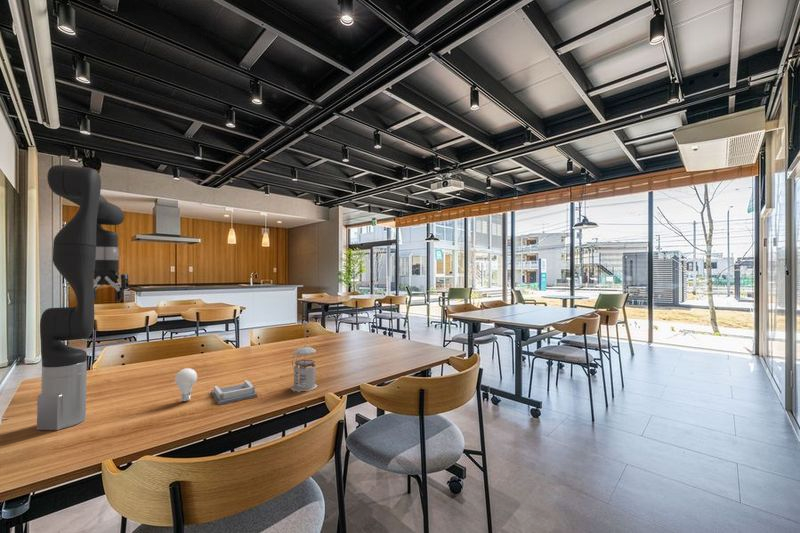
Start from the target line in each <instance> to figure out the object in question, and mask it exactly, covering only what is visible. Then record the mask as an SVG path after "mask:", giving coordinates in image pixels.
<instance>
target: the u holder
mask: <svg viewBox="0 0 800 533" xmlns="http://www.w3.org/2000/svg"><path fill="white" fill-rule="evenodd" d="M255 390H256V388H255V386H254V385H253V384H252V383H251V382H250V381H249V380H248V379H246V380H244V381H243V383H241V384H237V385H236V384H235V385H232V386H226V387H221V388H220V387H219V386H218V385H214V386H213V389H211V390H210V393H211V395H212V396H213V398H214V399H215V401H216V402H217V404H218V406H221V405H226V404H231V403H234V402H235V403H236V402H239V401H244V400H248V399H253V398H258V393H257V392H256V391H255Z"/></svg>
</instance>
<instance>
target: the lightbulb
mask: <svg viewBox="0 0 800 533" xmlns="http://www.w3.org/2000/svg"><path fill="white" fill-rule="evenodd" d="M197 380H198V373H197V371H196V370H194V369H193V368H190V367H185V368H183V369H180V370H179V371H178V372H177V373H176V375H175V377H174V383H175V384H176V385H177V387H178V388H179V392H180V395H181V398H180V399H181V401H182V402H185V403H186V402H189V401H190V400H191V397H192V395H191V392H192V390H193V386H194V385H195V384H196V382H197Z"/></svg>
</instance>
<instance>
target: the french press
mask: <svg viewBox="0 0 800 533" xmlns="http://www.w3.org/2000/svg"><path fill="white" fill-rule="evenodd" d="M302 325H303V326H304V339H307V338H306V331H307V330H306V328H307V327H306V326H308V325H309V323H308V321H305V320H304V321H302ZM316 352H317V350H316V349H315V348H313V347H310V346H302V347H298V348H297V349H296V350H294V351H293V353H294V355H293V357H292V360H291V365H292V369H293V375H294V376H293V386H292V387H291V388H290V390H291V391H292V390H293V392H295V391H297V392H296V393H301V392H300V391H309V390H313V389H315V388H316V387H317V386H318V385H317V383H316V364H314V363H315V360H313V359H309V358H308V359H299V360H297V359H298V358H300V357H301V356H306V355H307V356H308V355H313V354H315V353H316ZM295 356H296V357H295ZM294 357H295V362H294ZM294 364H295V365H294ZM315 390H316V389H315ZM313 391H314V390H313ZM309 392H310V391H309Z"/></svg>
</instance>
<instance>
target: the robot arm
mask: <svg viewBox="0 0 800 533" xmlns="http://www.w3.org/2000/svg"><path fill="white" fill-rule="evenodd" d="M46 178H47V184H48V187H49V189H50V190H51V192H53V193H54V194H55V195H57V196H59V197H60V198H63V199H66V200H68V201H70V202H72V203H74V204H75V205H77V206H79V208H78V209H77V212H76V213H75V214H74V215H73V217H72V218H71V219H70V220H69V221H68V222H67V223H66V224H65V225H64V226H63V227H62V228H61V229H60V230H59V231H58V232H57V233H56V235H55V236H54V238H53V244H52V263H53V265H54V267H55V268H56V270H57V271H58V273H60V275H61V276H62V277H63V278H64V279H65V280H66V282H67V283H68V284H69V285H70V287H71V289H72V291H73V292H74V294H75V298H76V304H77V306H69V307H66V306H65V307H50V308H47V309H45V310H44V311H43V312H42V314H41V317H40V321H39V335H40V357H41V392H40V394H38V395H37V397H36V430H37V431H59V430H60V431H61V430H62V429H65V428H69V427H72V426H75V425H76V426H77V425H78V424H80V423H82V422H84V421H85V420H86V419H87V418H86V417H87V370H88V368H87V367H88V366H87V364H88V355H87V354H88V353H87V350H84V349H80V348H76V347H72V346H69V345H68V344H65V343H64V342H63V340H77V339H78V340H79V339H87V338H89V337H90V336H91V335H92V334H93V332H94V329H95V328H94V327H95V301H97V298H98V297H97V296H98V295H97V294H98V293H97V289H98V288H99V287H100V286H111V287H112V288H114V289H115V290H116V291H115V301H116V302H121V301H122V300H123V297H124V291H125V290H129V288H130V286H129V285H130V283H129V274H128V273H121V274H120V273H119V268H120V266H119V265H120V252H119V236H118V233H117V232H115V231H110V230H108V229H107V230H106V229H104V228H103V226H118V225H121V224H122V223H123V222H124V220H125V213H124V212H123V210H122V209H121V207H119V206H117V205H116V204H113V203H112V202H109V201H108V200H107V199H106V198H105V197H104V196H103V195H101V192H102V191H101V189H102V179H101V175H100V173H99V172H98V170H97V169H94V168H92V167H82V166H73V165H67V164H66V165H63V164H56V165H52V166H51V167H50V168H49V169H48V171H47V177H46ZM102 225H103V226H102ZM118 279H120V281H119V280H118Z"/></svg>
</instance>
